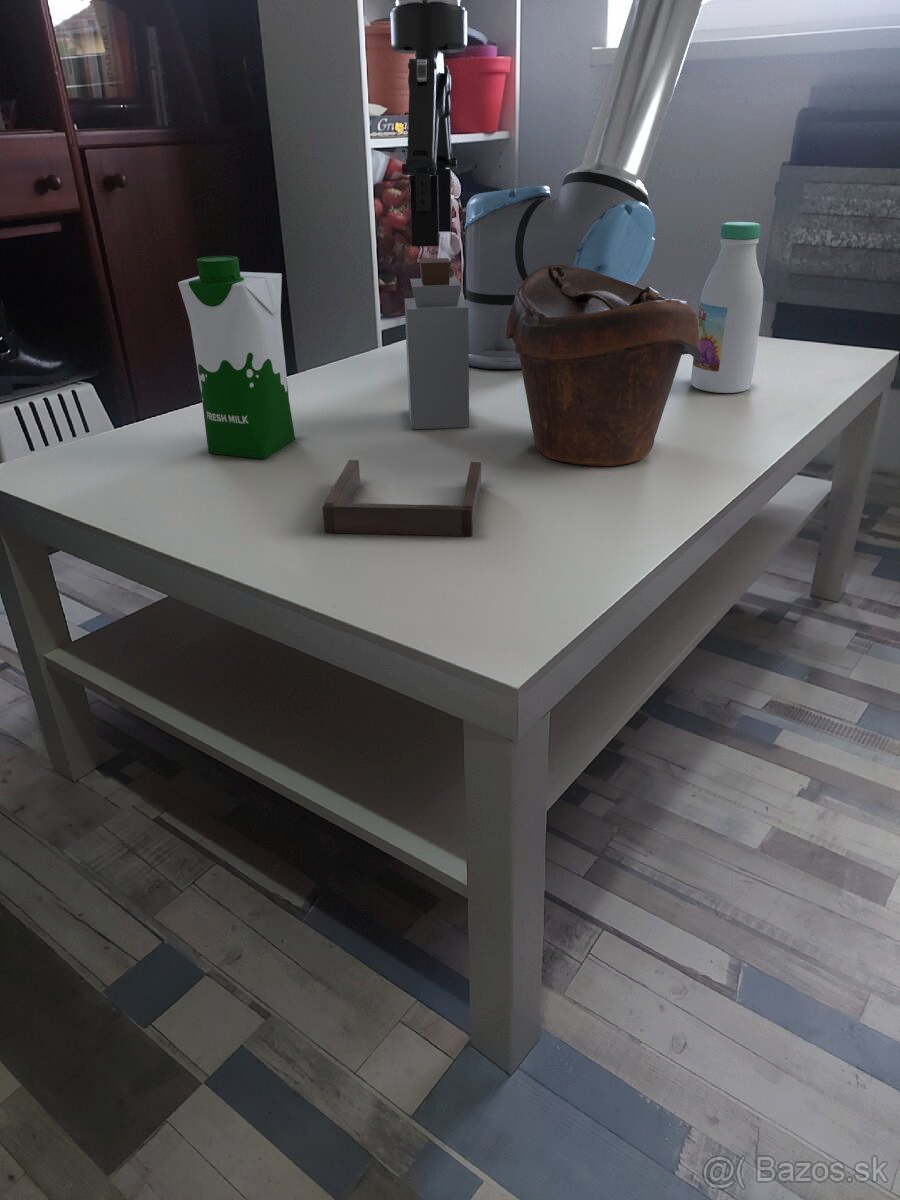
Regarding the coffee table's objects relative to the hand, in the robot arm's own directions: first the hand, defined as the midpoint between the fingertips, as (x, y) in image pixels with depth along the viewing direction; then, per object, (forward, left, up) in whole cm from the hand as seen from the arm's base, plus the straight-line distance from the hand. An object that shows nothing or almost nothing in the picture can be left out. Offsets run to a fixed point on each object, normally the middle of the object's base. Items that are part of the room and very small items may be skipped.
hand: (433, 238), depth 97 cm
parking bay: (+21, -17, -20) cm, 34 cm away
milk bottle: (+10, +38, -21) cm, 44 cm away
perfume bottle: (0, 0, -21) cm, 21 cm away
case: (+19, +8, -21) cm, 29 cm away
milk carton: (-4, -22, -21) cm, 30 cm away
